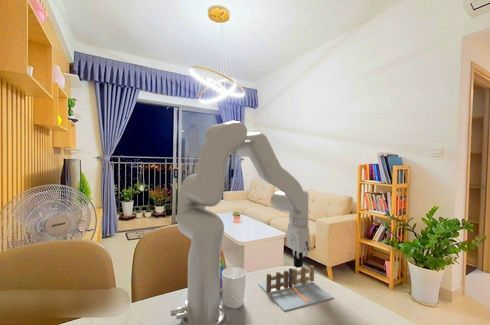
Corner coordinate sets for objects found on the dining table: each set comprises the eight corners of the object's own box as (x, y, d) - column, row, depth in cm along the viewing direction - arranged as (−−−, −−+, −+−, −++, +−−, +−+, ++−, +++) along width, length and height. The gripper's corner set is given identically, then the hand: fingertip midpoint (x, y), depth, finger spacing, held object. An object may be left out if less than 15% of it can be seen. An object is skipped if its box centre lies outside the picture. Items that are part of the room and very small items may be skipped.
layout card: (284, 311, 77) (284, 310, 77) (258, 284, 93) (258, 283, 93) (333, 298, 85) (333, 296, 85) (301, 275, 101) (301, 274, 101)
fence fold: (293, 285, 91) (294, 270, 91) (292, 283, 92) (292, 269, 92) (313, 280, 95) (314, 266, 95) (311, 279, 96) (312, 265, 96)
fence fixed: (268, 294, 87) (268, 274, 87) (266, 292, 88) (266, 272, 88) (293, 288, 91) (293, 269, 91) (290, 286, 92) (291, 267, 92)
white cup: (241, 294, 86) (242, 266, 86) (248, 307, 78) (248, 276, 78) (219, 297, 84) (220, 268, 84) (223, 311, 76) (224, 279, 76)
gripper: (280, 217, 104) (280, 260, 105) (302, 227, 91) (301, 276, 91) (295, 216, 107) (295, 258, 108) (318, 224, 94) (318, 272, 94)
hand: (298, 266), depth 99 cm, fingers closed
